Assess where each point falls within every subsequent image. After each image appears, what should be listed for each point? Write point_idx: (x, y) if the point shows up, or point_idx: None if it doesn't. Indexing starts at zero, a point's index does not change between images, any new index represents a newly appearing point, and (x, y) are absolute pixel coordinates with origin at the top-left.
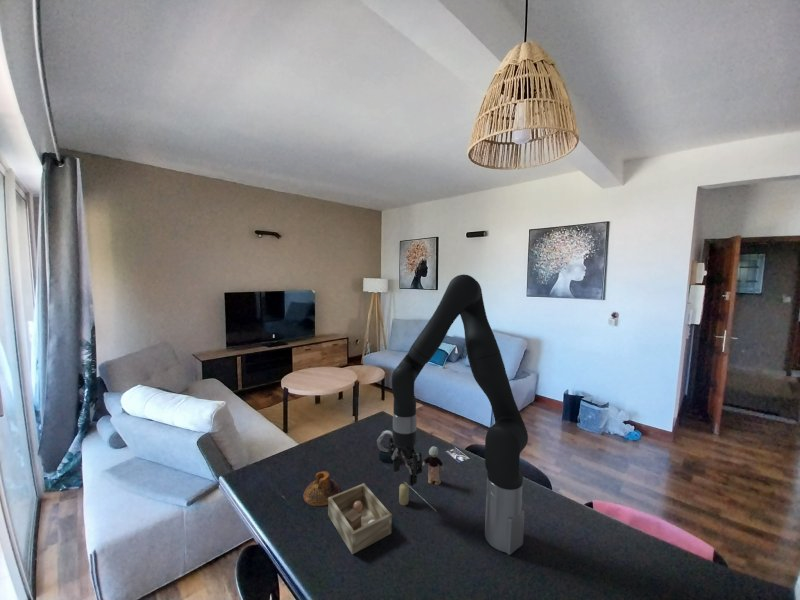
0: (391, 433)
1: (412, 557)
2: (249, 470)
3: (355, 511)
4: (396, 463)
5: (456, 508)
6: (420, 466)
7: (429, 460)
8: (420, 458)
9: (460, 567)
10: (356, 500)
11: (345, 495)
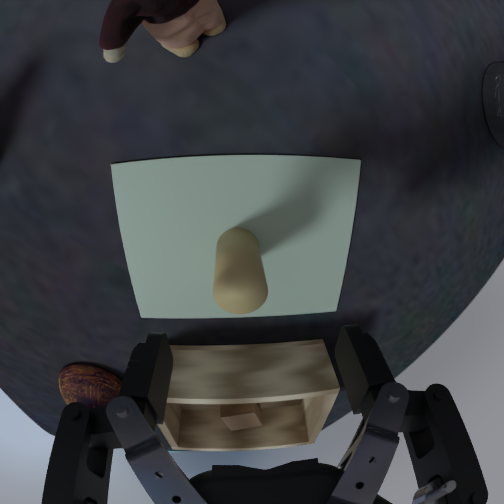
0: None
1: (400, 322)
2: (27, 415)
3: (233, 416)
4: (161, 395)
5: (391, 82)
6: (455, 430)
7: (143, 12)
8: (475, 479)
9: (478, 250)
10: None
11: (169, 423)
